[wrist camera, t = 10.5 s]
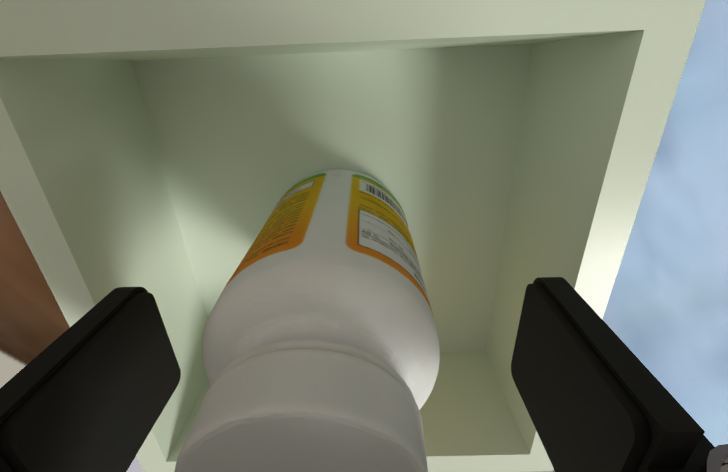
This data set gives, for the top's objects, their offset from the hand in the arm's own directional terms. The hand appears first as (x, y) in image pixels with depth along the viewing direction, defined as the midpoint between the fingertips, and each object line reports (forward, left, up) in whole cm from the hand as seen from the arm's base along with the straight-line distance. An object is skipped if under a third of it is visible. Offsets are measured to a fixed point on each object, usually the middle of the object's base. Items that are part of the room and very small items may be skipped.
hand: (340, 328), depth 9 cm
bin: (0, 0, -7) cm, 7 cm away
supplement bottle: (0, 0, -6) cm, 6 cm away
